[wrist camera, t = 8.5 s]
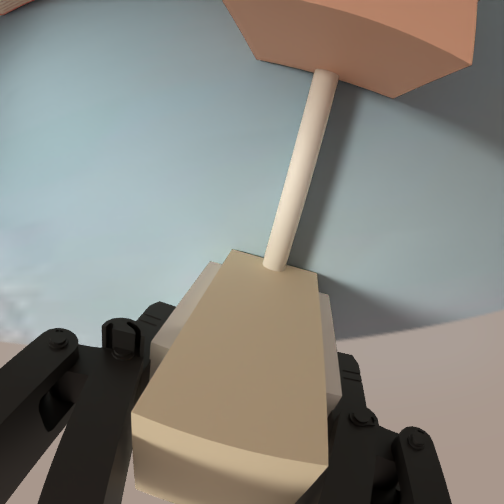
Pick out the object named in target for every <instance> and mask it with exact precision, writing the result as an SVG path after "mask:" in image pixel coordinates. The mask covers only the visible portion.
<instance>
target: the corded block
mask: <svg viewBox="0 0 504 504" xmlns="http://www.w3.org/2000/svg"><path fill="white" fill-rule="evenodd" d="M222 1H223V3H224V4H225V6H226V8H227V9H228V11H229V13H230V14H231V16H232V18H233V19H234V21H235V23H236V24H237V26H238V28H239V30H240V31H241V33H242V35H243V36H244V38H245V40H246V42H247V44H248V45H249V47H250V49H251V51H252V53H253V54H254V56H255V58H256V59H257V60H262V61H267V62H271V63H276V64H281V65H285V66H289V67H293V68H297V69H301V70H305V71H309V72H313V73H314V75H313V79H312V83H311V87H310V91H309V94H308V98H307V102H306V106H305V110H304V113H303V117H302V121H301V125H300V128H299V132H298V136H297V139H296V143H295V147H294V151H293V154H292V158H291V162H290V165H289V169H288V173H287V176H286V180H285V184H284V187H283V191H282V195H281V198H280V202H279V206H278V209H277V213H276V216H275V220H274V224H273V227H272V231H271V234H270V238H269V242H268V245H267V249H266V252H265V256H264V258H261V257H258V256H254V255H251V254H247V253H244V252H240V251H237V250H233V249H232V250H231V252H230V253H229V255H228V256H227V258H226V260H225V261H224V263H223V264H222V266H221V267H220V269H219V271H218V272H217V274H216V275H215V277H214V279H213V280H212V282H211V283H210V285H209V286H208V288H207V290H206V291H205V293H204V294H203V296H202V298H201V299H200V301H199V302H198V304H197V306H196V307H195V309H194V310H193V312H192V314H191V315H190V317H189V318H188V320H187V322H186V323H185V325H184V326H183V328H182V330H181V331H180V333H179V334H178V336H177V338H176V339H175V341H174V342H173V344H172V346H171V347H170V349H169V351H168V352H167V354H166V355H165V357H164V359H163V360H162V362H161V364H160V365H159V367H158V368H157V370H156V372H155V373H154V375H153V377H152V378H151V380H150V382H149V383H148V385H147V387H146V388H145V390H144V391H143V393H142V395H141V396H140V398H139V400H138V401H137V403H136V405H135V406H134V408H133V410H132V411H131V426H132V448H133V464H134V477H135V487H136V489H137V490H140V491H142V492H144V493H147V494H150V495H153V496H155V497H158V498H160V499H163V500H166V501H169V502H172V503H175V504H295V502H296V501H297V500H298V499H299V498H300V497H301V496H302V495H303V494H304V493H305V492H306V491H307V490H308V489H309V488H310V486H311V485H312V484H313V483H314V482H315V481H316V480H317V479H318V477H319V476H320V475H321V474H322V473H323V472H324V470H325V469H326V468H327V467H328V425H327V400H326V381H325V364H324V349H323V336H322V323H321V312H320V301H319V290H318V280H317V273H314V272H310V271H307V270H303V269H300V268H296V267H293V266H289V265H286V263H287V260H288V257H289V254H290V250H291V247H292V244H293V240H294V237H295V234H296V231H297V227H298V224H299V221H300V217H301V214H302V210H303V207H304V204H305V200H306V197H307V193H308V190H309V186H310V183H311V179H312V176H313V172H314V169H315V165H316V162H317V158H318V155H319V151H320V147H321V144H322V140H323V136H324V133H325V129H326V125H327V122H328V118H329V114H330V110H331V106H332V103H333V99H334V95H335V91H336V87H337V83H338V80H341V81H344V82H347V83H350V84H353V85H356V86H359V87H362V88H365V89H368V90H371V91H373V92H376V93H379V94H382V95H384V96H387V97H390V98H392V99H394V98H396V97H398V96H400V95H402V94H405V93H407V92H409V91H411V90H414V89H416V88H418V87H420V86H423V85H425V84H427V83H430V82H432V81H434V80H437V79H439V78H441V77H444V76H446V75H448V74H451V73H453V72H456V71H458V70H461V69H463V68H466V67H468V66H471V65H472V60H473V51H474V42H475V31H476V17H477V0H222Z"/></svg>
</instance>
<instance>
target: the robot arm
mask: <svg viewBox="0 0 504 504" xmlns="http://www.w3.org/2000/svg"><path fill="white" fill-rule="evenodd" d="M221 266H222V264H219V263H215V262H212V261H210V262H209V263H208V265H207V266H206V267H205V269H204V270H203V271H202V273H201V274H200V275H199V277H198V278H197V280H196V281H195V282H194V284H193V285H192V286H191V288H190V289H189V290H188V292H187V293H186V294H185V296H184V297H183V298H182V300H181V301H180V303H179V304H178V305H177V307H175V306H172V305H169V304H166V303H163V302H160V301H159V302H157V303H155V304H153V305H150V306H149V307H148V308H147V309H146V310H145V312H144V313H143V314H142V315H141V316H140V317H139V318H138V320H137V321H134V320H131V319H127V318H114V319H111V320H108V321H106V322H105V323H104V324H103V325H102V348H98V347H90V346H85V345H79V344H78V339H77V337H76V335H75V334H74V333H72V332H71V331H69V330H66V329H63V328H54V329H49V330H47V331H46V332H44V333H42V334H41V335H40V336H39V337H37V338H36V339H35V340H34V341H33V342H31V343H30V344H29V345H28V346H26V347H25V348H24V349H23V350H22V351H20V352H19V353H18V354H17V355H16V356H14V357H13V358H12V359H11V360H10V361H9V362H7V363H6V364H5V365H4V366H3V367H2V368H0V504H5V503H6V502H7V500H8V499H9V498H10V496H11V495H12V494H13V493H14V491H15V490H16V489H17V487H18V486H19V485H20V483H21V482H22V481H23V479H24V478H25V477H26V475H27V474H28V473H29V472H30V470H31V469H32V468H33V466H34V465H35V464H36V463H37V461H38V460H39V459H40V457H41V456H42V455H43V454H44V452H45V451H46V450H47V449H48V447H49V446H50V445H51V443H52V442H53V441H54V440H55V438H56V437H57V436H58V435H59V433H60V432H61V431H62V430H63V428H64V427H65V426H66V425H67V426H66V429H65V431H64V433H63V436H62V438H61V441H60V443H59V446H58V448H57V451H56V454H55V456H54V459H53V461H52V464H51V467H50V469H49V472H48V475H47V478H46V481H45V483H44V486H43V489H42V492H41V495H40V498H39V501H38V504H121V501H122V495H123V491H124V486H125V481H126V476H127V472H128V467H129V462H130V457H131V453H132V449H133V448H132V426H131V411H132V410H133V408H134V406H135V405H136V403H137V401H138V400H139V398H140V396H141V395H142V393H143V391H144V390H145V388H146V387H147V385H148V383H149V382H150V380H151V378H152V377H153V375H154V373H155V372H156V370H157V368H158V367H159V365H160V364H161V362H162V360H163V359H164V357H165V355H166V354H167V352H168V351H169V349H170V347H171V346H172V344H173V342H174V341H175V339H176V338H177V336H178V334H179V333H180V331H181V330H182V328H183V326H184V325H185V323H186V322H187V320H188V318H189V317H190V315H191V314H192V312H193V310H194V309H195V307H196V306H197V304H198V302H199V301H200V299H201V298H202V296H203V294H204V293H205V291H206V290H207V288H208V286H209V285H210V283H211V282H212V280H213V279H214V277H215V275H216V274H217V272H218V271H219V269H220V267H221ZM319 301H320V312H321V323H322V336H323V349H324V364H325V381H326V400H327V425H328V467H327V468H326V469H325V470H324V472H323V473H322V474H321V475H320V476H319V477H318V479H317V480H316V481H315V482H314V483H313V484H312V485H311V486H310V488H309V489H308V490H307V491H306V492H305V493H304V494H303V495H302V496H301V497H300V498H299V499H298V500H297V501H296V502H295V504H452V503H451V499H450V496H449V492H448V489H447V485H446V482H445V478H444V475H443V472H442V468H441V465H440V462H439V460H438V456H437V453H436V450H435V447H434V444H433V441H432V440H431V437H430V436H429V435H428V434H427V433H426V432H425V431H423V430H422V429H420V428H417V427H413V426H412V427H406V428H404V429H403V430H402V431H401V432H400V433H399V434H398V433H395V432H393V431H390V430H388V429H385V428H383V427H381V426H379V424H378V419H377V417H376V416H375V414H374V413H373V412H372V411H371V410H370V409H368V408H367V407H366V402H365V396H364V390H363V385H362V383H361V381H362V380H361V376H360V370H359V365H358V363H357V362H356V360H355V359H354V357H353V356H352V355H349V354H345V353H340V352H337V349H336V340H335V333H334V326H333V319H332V312H331V306H330V299H329V295H327V294H323V293H320V292H319ZM67 423H68V424H67Z"/></svg>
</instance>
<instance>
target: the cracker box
mask: <svg viewBox="0 0 504 504" xmlns="http://www.w3.org/2000/svg"><path fill="white" fill-rule="evenodd" d="M31 1H34V0H0V15H5V14H7V13H9V12H11V11H13V10H15V9H17V8H19V7H21V6H23V5H25V4H27V3H29V2H31Z"/></svg>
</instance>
